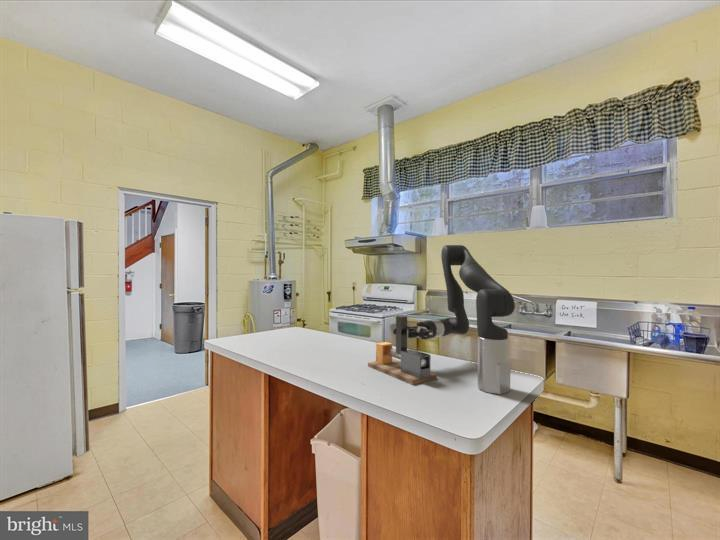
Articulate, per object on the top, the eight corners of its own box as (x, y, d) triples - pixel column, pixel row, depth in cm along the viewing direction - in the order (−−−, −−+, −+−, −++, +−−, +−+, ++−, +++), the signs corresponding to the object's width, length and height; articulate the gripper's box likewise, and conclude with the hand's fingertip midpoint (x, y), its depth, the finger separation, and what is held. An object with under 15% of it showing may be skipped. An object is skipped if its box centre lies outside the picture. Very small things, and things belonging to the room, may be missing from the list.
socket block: (392, 362, 132) (392, 343, 133) (382, 364, 130) (382, 345, 130) (385, 360, 136) (386, 341, 136) (376, 361, 133) (376, 343, 133)
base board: (436, 378, 117) (436, 374, 117) (412, 385, 110) (412, 380, 110) (390, 361, 139) (390, 358, 139) (367, 366, 132) (368, 362, 132)
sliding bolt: (427, 366, 115) (427, 320, 115) (421, 367, 113) (421, 320, 113) (394, 355, 129) (395, 314, 129) (389, 356, 128) (389, 315, 128)
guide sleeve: (430, 376, 115) (430, 354, 115) (419, 378, 112) (420, 356, 112) (410, 369, 123) (410, 349, 123) (400, 371, 120) (400, 350, 121)
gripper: (418, 318, 139) (389, 321, 130) (444, 322, 127) (414, 326, 118) (418, 335, 139) (389, 339, 130) (443, 341, 127) (413, 346, 118)
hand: (400, 333), depth 124 cm, fingers open, 8 cm apart
